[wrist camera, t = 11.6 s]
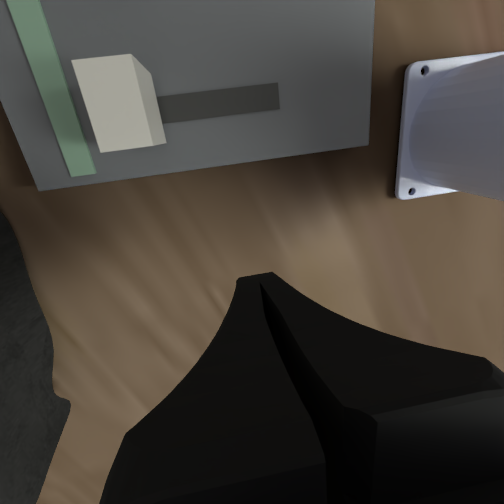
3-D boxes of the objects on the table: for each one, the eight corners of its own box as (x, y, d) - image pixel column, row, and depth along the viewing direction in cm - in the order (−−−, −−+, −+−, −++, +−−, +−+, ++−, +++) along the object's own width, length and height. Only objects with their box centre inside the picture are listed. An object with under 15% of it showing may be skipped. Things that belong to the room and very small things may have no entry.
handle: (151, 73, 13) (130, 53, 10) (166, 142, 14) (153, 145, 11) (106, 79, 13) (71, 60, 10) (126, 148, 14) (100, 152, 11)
